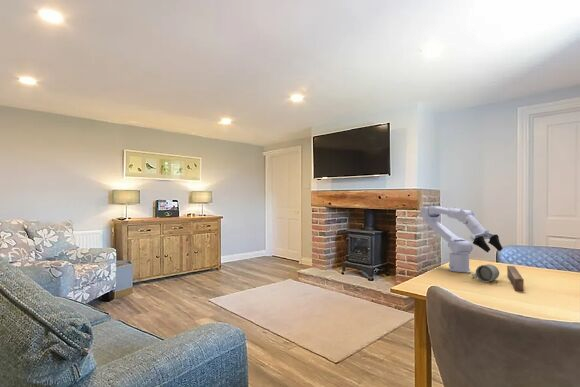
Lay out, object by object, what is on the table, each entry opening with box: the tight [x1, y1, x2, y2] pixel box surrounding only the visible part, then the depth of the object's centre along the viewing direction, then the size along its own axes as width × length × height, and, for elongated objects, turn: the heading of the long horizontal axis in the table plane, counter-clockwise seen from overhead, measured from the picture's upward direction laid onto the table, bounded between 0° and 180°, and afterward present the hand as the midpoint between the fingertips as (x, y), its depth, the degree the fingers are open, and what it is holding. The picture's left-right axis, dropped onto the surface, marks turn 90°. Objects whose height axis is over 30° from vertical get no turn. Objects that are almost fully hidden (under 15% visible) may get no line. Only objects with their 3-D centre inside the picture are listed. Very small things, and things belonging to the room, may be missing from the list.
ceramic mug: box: [471, 263, 500, 283], centre depth 153 cm, size 11×8×8 cm
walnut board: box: [506, 265, 525, 292], centre depth 147 cm, size 3×26×5 cm, turn 152°
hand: (494, 250), depth 152 cm, fingers open, 7 cm apart
